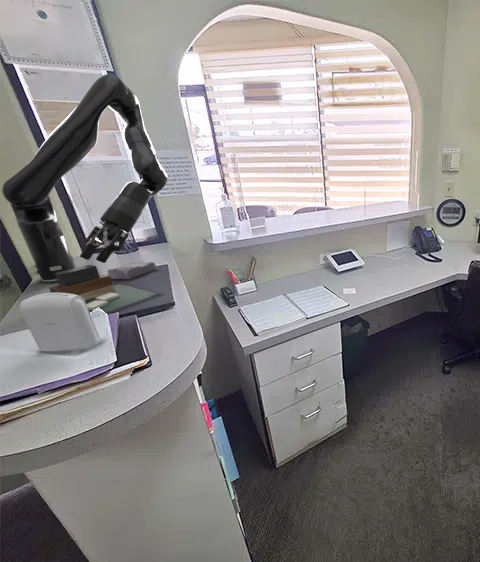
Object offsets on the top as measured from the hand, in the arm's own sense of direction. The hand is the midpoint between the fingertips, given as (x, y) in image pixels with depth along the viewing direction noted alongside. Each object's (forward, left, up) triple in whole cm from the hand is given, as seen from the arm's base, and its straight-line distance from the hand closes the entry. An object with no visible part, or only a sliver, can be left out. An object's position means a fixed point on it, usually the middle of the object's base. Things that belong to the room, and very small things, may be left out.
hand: (91, 259), depth 89 cm
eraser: (0, -4, -10) cm, 11 cm away
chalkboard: (+7, -4, -11) cm, 13 cm away
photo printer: (+28, -19, -11) cm, 36 cm away
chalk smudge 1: (+10, -7, -10) cm, 16 cm away
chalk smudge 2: (+7, -2, -10) cm, 12 cm away
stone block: (-11, +14, -11) cm, 21 cm away
